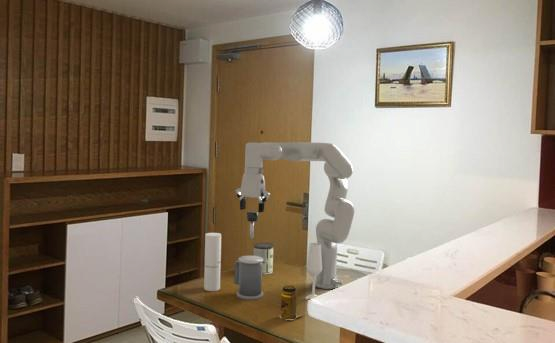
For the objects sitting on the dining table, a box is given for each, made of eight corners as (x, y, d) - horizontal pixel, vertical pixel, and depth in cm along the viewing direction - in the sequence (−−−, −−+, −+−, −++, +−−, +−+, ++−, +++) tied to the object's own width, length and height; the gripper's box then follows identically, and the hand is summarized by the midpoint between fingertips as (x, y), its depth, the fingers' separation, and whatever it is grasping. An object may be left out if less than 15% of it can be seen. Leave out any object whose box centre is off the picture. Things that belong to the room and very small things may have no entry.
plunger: (259, 237, 215) (260, 212, 214) (253, 239, 211) (253, 213, 210) (250, 236, 218) (251, 210, 217) (243, 238, 214) (244, 212, 213)
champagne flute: (302, 296, 217) (305, 242, 215) (316, 294, 220) (318, 242, 218) (309, 301, 211) (312, 246, 209) (323, 299, 214) (326, 245, 212)
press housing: (268, 294, 218) (269, 258, 217) (253, 301, 208) (254, 263, 207) (243, 288, 225) (244, 253, 224) (227, 295, 216) (228, 258, 214)
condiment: (275, 317, 192) (277, 287, 191) (289, 311, 198) (290, 282, 197) (290, 322, 187) (291, 291, 186) (304, 316, 194) (305, 286, 193)
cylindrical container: (222, 287, 226) (224, 233, 224) (214, 292, 219) (215, 236, 217) (209, 285, 229) (210, 232, 227) (201, 289, 222) (202, 234, 220)
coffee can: (254, 268, 259) (255, 242, 258) (273, 269, 258) (274, 243, 257) (251, 273, 249) (252, 246, 248) (271, 275, 248) (272, 247, 247)
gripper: (274, 172, 211) (273, 212, 212) (242, 169, 220) (240, 207, 221) (265, 173, 204) (263, 214, 205) (232, 170, 213) (230, 209, 215)
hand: (251, 210), depth 213 cm, fingers open, 9 cm apart
